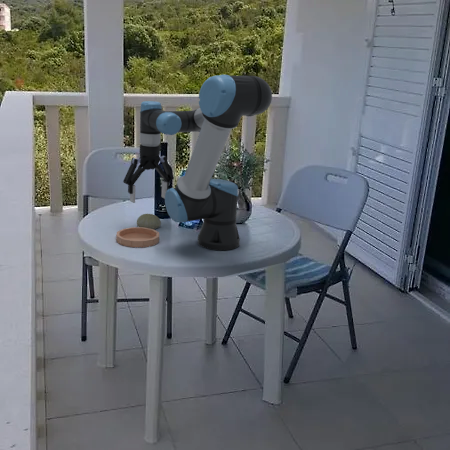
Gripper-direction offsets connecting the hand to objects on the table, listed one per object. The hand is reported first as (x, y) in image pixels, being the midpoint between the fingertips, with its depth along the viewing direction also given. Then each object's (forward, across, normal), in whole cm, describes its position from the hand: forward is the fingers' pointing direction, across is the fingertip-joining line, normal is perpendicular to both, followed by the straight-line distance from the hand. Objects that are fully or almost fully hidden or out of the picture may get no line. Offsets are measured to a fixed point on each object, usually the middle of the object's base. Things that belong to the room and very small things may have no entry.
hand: (148, 199), depth 217 cm
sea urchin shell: (+11, 0, 0) cm, 11 cm away
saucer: (+10, +11, +12) cm, 20 cm away
